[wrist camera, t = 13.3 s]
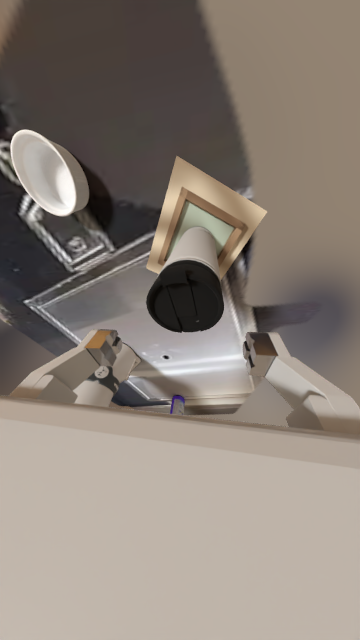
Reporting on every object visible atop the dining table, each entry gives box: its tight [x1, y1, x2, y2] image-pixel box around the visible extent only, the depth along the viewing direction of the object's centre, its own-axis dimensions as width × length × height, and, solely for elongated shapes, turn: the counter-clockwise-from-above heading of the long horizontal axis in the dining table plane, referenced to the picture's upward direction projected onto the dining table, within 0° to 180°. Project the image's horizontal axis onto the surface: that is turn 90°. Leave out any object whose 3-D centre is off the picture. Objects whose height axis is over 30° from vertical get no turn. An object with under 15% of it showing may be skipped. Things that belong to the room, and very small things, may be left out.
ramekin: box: [11, 130, 89, 216], centre depth 23 cm, size 9×9×4 cm
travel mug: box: [146, 226, 224, 333], centre depth 19 cm, size 6×7×20 cm
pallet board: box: [146, 156, 267, 279], centre depth 26 cm, size 17×15×2 cm
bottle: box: [170, 396, 185, 415], centre depth 68 cm, size 7×6×17 cm
